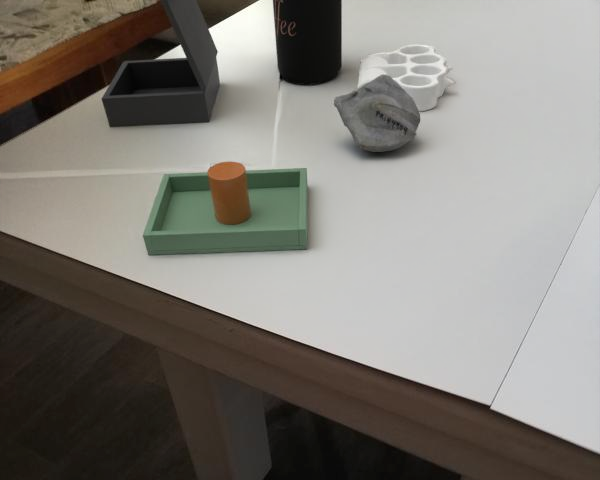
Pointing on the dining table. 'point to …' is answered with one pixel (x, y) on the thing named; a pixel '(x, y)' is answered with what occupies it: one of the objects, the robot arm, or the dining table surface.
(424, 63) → the white multi-well holder
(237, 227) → the tray
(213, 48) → the lid
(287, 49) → the coffee jar
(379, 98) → the fossil
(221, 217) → the orange cylinder
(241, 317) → the dining table surface
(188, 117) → the black box
